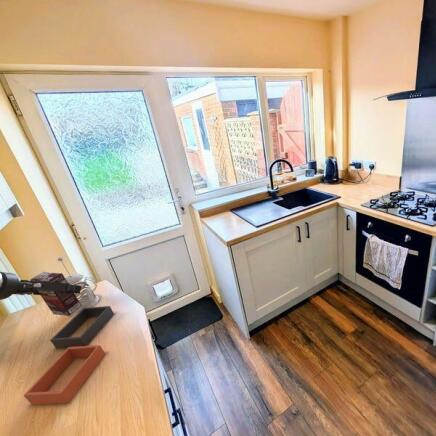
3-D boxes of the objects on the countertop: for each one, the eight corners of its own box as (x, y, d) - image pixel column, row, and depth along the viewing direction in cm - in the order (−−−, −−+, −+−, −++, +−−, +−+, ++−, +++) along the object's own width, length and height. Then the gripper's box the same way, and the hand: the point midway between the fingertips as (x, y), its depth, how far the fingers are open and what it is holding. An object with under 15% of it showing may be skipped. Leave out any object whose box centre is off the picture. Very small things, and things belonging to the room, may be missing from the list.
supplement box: (52, 315, 88) (28, 279, 81) (66, 305, 92) (44, 270, 85) (70, 317, 86) (47, 281, 79) (84, 307, 90) (62, 272, 83)
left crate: (31, 404, 72) (23, 395, 71) (74, 355, 87) (68, 347, 85) (68, 402, 72) (61, 393, 70) (105, 353, 86) (100, 345, 84)
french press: (76, 301, 114) (48, 256, 104) (105, 291, 118) (81, 247, 108) (70, 315, 106) (39, 267, 95) (101, 304, 110) (76, 257, 100)
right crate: (56, 348, 90) (49, 340, 88) (88, 315, 104) (83, 307, 103) (86, 346, 90) (80, 338, 88) (114, 313, 104) (109, 305, 102)
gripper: (-52, 302, 67) (35, 303, 88) (24, 296, 66) (93, 299, 87) (-41, 274, 70) (41, 282, 91) (32, 268, 69) (97, 277, 90)
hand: (66, 290), depth 89 cm, fingers closed on supplement box, 9 cm apart
